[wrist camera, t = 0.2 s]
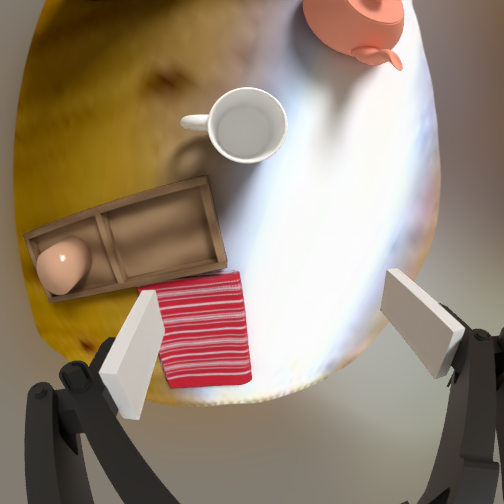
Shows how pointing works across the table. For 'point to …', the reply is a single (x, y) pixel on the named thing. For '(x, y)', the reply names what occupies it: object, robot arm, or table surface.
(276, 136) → the mug
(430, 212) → the table surface
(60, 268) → the peach rounded cylinder
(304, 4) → the teapot
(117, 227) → the caddy
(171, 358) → the dish towel
